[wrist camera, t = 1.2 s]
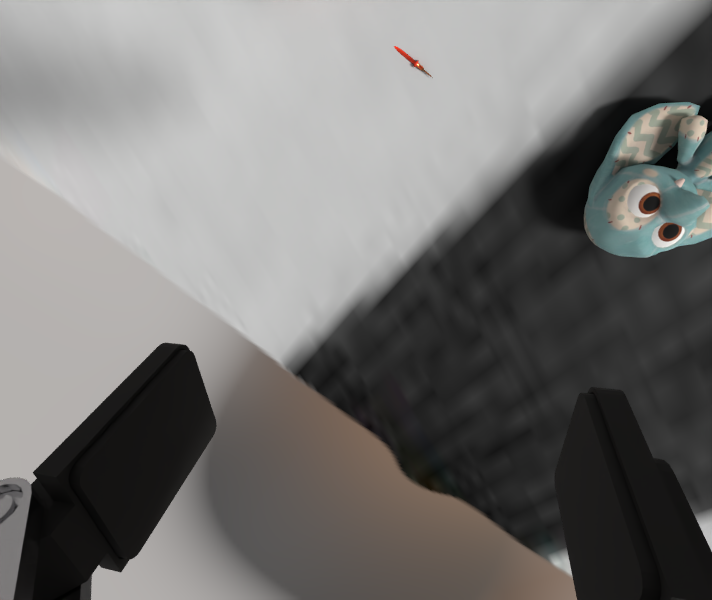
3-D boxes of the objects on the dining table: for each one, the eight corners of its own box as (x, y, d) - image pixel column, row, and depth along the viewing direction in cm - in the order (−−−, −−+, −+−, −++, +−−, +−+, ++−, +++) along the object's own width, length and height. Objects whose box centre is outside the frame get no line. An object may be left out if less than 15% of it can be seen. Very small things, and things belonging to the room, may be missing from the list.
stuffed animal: (881, 190, 23) (667, 320, 27) (773, 173, 29) (614, 279, 33) (796, 24, 20) (573, 196, 24) (698, 45, 27) (535, 178, 31)
